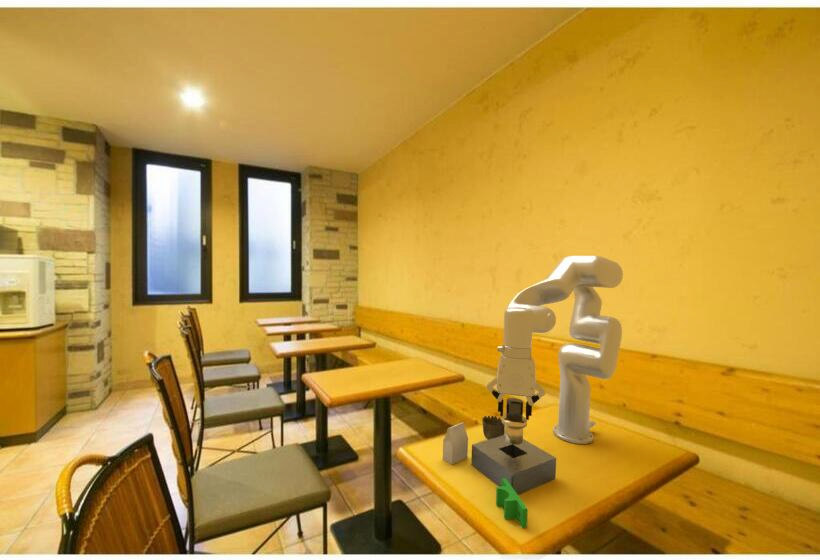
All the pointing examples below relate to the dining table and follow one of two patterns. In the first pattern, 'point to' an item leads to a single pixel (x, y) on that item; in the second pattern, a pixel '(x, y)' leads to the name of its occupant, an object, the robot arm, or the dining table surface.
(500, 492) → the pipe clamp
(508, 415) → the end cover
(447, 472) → the dining table surface
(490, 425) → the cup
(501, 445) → the plate
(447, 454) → the tan milk carton
